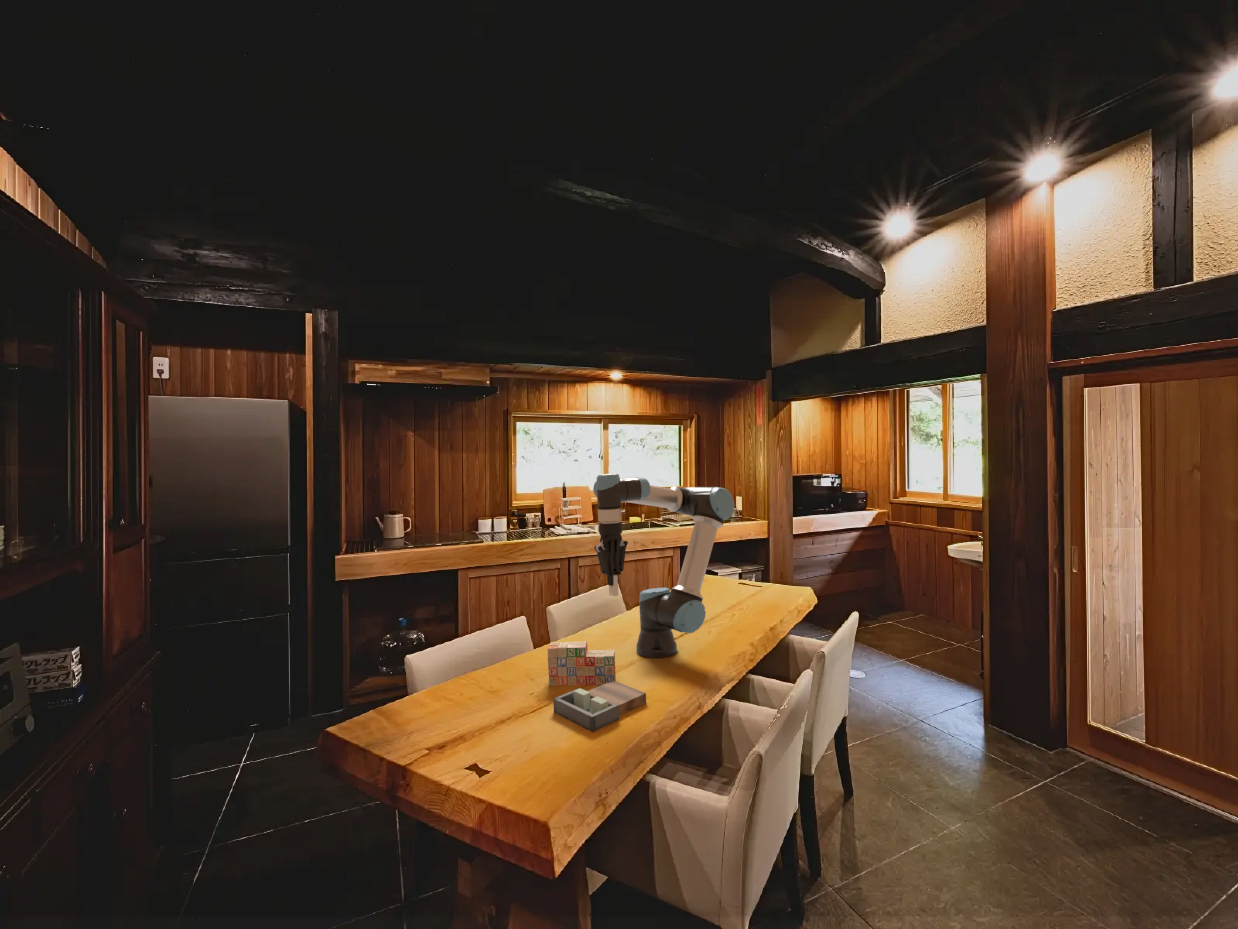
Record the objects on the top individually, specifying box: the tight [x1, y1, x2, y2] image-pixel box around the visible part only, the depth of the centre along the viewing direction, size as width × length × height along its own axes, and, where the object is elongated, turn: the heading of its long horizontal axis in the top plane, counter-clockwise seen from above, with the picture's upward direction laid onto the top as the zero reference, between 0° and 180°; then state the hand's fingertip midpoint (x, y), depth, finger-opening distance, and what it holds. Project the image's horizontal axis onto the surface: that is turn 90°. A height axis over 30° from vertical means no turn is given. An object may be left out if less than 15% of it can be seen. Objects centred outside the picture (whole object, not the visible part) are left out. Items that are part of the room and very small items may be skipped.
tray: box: [552, 688, 621, 733], centre depth 153 cm, size 10×17×4 cm, turn 43°
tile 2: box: [591, 696, 608, 714], centre depth 151 cm, size 4×4×2 cm
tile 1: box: [572, 687, 591, 710], centre depth 157 cm, size 4×4×2 cm
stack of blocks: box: [547, 640, 616, 687], centre depth 178 cm, size 21×6×12 cm, turn 86°
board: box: [587, 680, 647, 717], centre depth 161 cm, size 12×14×3 cm
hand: (613, 594), depth 175 cm, fingers closed
